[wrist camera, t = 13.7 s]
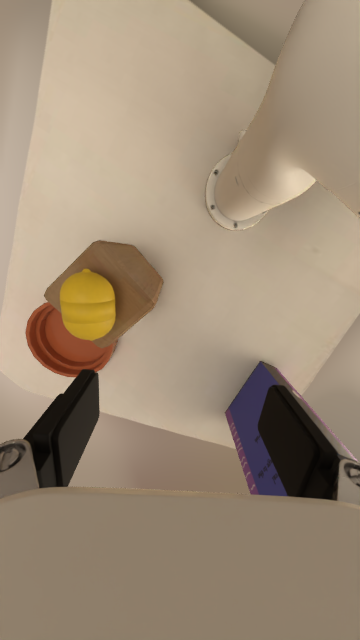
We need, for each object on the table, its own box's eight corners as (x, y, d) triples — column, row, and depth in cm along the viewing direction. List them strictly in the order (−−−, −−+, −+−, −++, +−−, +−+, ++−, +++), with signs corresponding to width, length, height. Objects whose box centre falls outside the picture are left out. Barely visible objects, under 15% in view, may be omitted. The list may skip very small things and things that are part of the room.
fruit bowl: (33, 293, 43) (18, 297, 39) (116, 297, 44) (110, 302, 40) (45, 364, 49) (33, 375, 44) (119, 367, 50) (114, 378, 45)
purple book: (239, 418, 56) (285, 534, 33) (224, 412, 55) (261, 526, 32) (276, 368, 51) (359, 462, 28) (260, 360, 50) (332, 452, 27)
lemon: (71, 265, 23) (43, 268, 18) (119, 268, 23) (104, 272, 18) (78, 330, 25) (55, 349, 20) (121, 332, 25) (108, 352, 20)
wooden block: (131, 310, 45) (100, 354, 26) (97, 275, 42) (36, 295, 24) (165, 281, 43) (158, 305, 24) (132, 242, 41) (95, 235, 22)
